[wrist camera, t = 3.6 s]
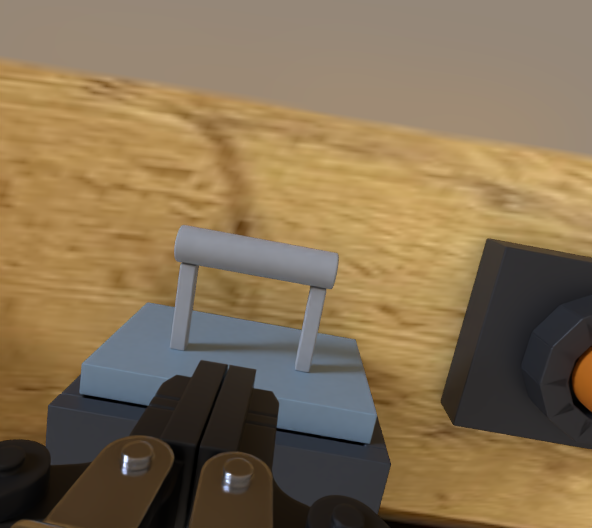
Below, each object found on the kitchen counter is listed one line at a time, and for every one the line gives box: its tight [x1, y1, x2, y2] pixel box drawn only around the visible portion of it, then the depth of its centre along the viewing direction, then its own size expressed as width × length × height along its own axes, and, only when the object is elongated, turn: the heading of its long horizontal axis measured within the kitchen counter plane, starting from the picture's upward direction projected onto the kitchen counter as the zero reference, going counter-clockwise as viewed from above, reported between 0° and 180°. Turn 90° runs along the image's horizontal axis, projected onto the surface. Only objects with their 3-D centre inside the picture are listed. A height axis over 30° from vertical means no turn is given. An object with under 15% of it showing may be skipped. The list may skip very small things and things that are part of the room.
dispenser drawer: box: [80, 225, 377, 444], centre depth 20 cm, size 17×10×7 cm, turn 170°
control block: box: [441, 238, 592, 449], centre depth 21 cm, size 11×9×4 cm
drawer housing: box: [46, 375, 391, 528], centre depth 21 cm, size 14×12×9 cm
